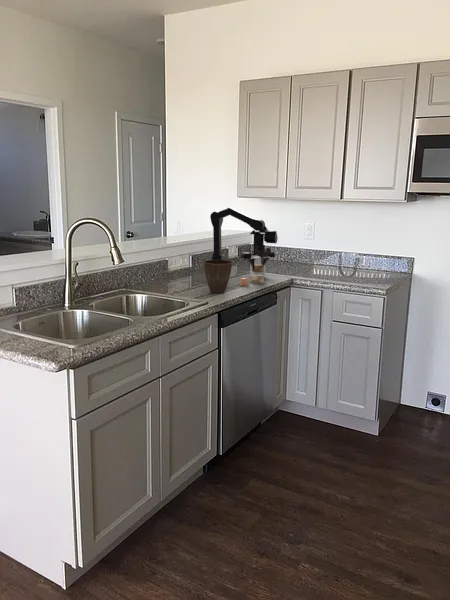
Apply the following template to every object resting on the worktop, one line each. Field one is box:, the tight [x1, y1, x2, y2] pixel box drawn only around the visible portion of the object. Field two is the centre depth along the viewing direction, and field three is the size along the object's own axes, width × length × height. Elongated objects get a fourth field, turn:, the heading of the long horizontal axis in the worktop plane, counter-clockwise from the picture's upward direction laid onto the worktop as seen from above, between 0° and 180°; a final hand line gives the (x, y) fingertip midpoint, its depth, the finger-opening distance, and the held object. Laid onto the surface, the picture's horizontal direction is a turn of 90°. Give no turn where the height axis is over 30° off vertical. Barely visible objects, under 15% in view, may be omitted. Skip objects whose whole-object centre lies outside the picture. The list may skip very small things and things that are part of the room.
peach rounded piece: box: [239, 277, 250, 287], centre depth 282 cm, size 5×5×4 cm
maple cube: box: [251, 275, 265, 285], centre depth 289 cm, size 5×5×4 cm
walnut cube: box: [252, 264, 264, 273], centre depth 288 cm, size 5×5×4 cm
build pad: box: [249, 280, 269, 286], centre depth 290 cm, size 9×9×1 cm
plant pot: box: [203, 259, 233, 294], centre depth 264 cm, size 15×15×16 cm
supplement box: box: [249, 256, 267, 279], centre depth 307 cm, size 7×7×13 cm
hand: (257, 270), depth 288 cm, fingers closed on walnut cube, 5 cm apart
